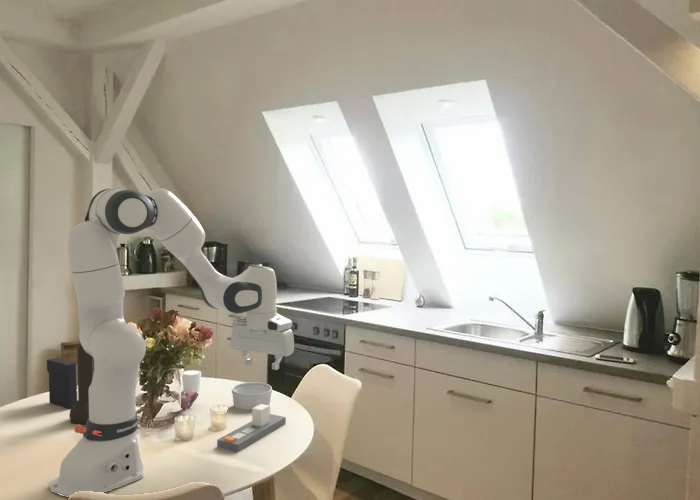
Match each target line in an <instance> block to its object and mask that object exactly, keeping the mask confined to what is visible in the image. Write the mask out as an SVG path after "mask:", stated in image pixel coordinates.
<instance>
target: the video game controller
mask: <svg viewBox="0 0 700 500" xmlns="http://www.w3.org/2000/svg"><path fill="white" fill-rule="evenodd" d="M199 393H200V392H198V393H197V392H195V391H193V390H192V391H189V392H186V393H184V395H183V396H182V397H181V398H180V399H181V408H182V409H183V410H182V411H184V412H186V410H188V408H189V407H190V408H191V407H192V406H193V404H194V403H195V401H196V400H197V398H198V397H199Z"/></svg>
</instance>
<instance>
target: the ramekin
mask: <svg viewBox="0 0 700 500" xmlns="http://www.w3.org/2000/svg"><path fill="white" fill-rule="evenodd" d="M272 392H273V388H272V386H271V385H270V384H268V383H265V382H259V381H258V382H257V381H255V382H254V381H252V382H251V381H250V382H249V381H248V382H241V383H238V384H236V385H234V386H232V388H231V395H232V401H233V402H232V403H233V406H234V407H235V408H237V409H240V410H246V411H251V410H252V408H254V407H256V406H258V405H260V404H264V405H269V406H271V405H270V403H271V396H272Z"/></svg>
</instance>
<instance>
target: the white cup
mask: <svg viewBox="0 0 700 500" xmlns="http://www.w3.org/2000/svg"><path fill="white" fill-rule="evenodd" d="M182 372H183V376H182V375H181V379H182V380H181V381H182V390H183V393H184V392H185V393H186V392H189V391H192V390H193V391H195V392H198V393H200V391H201V381H202V371H201V370H198V369H190V370H185V371H182ZM185 393H184V394H185Z"/></svg>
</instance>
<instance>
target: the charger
mask: <svg viewBox="0 0 700 500" xmlns="http://www.w3.org/2000/svg"><path fill="white" fill-rule="evenodd" d="M251 413H252V414H251V416H252V418H251V421H252V425H255V426H260V427H262V426H264V425H266V424H267V423H269V422H270V414H271V405H264V404H260V405H258V406H256V407H254V408H252V411H251Z"/></svg>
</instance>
